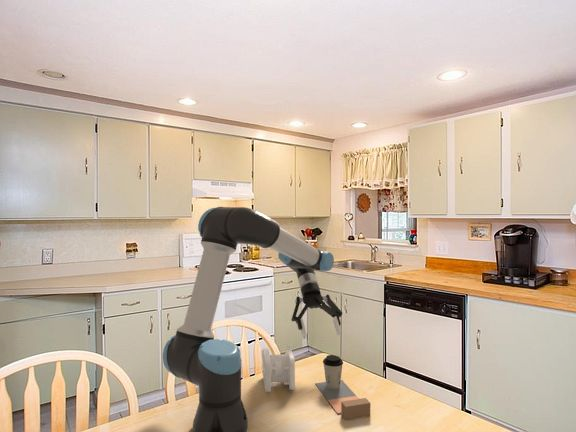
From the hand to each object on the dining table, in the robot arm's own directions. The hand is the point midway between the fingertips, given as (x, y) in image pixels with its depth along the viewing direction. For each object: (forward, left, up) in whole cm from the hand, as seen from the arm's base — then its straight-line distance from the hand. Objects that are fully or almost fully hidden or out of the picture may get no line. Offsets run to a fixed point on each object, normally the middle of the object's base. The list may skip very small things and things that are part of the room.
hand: (322, 335), depth 139 cm
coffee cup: (-5, -9, -14) cm, 18 cm away
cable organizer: (-17, +6, -15) cm, 23 cm away
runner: (-9, -16, -14) cm, 23 cm away
